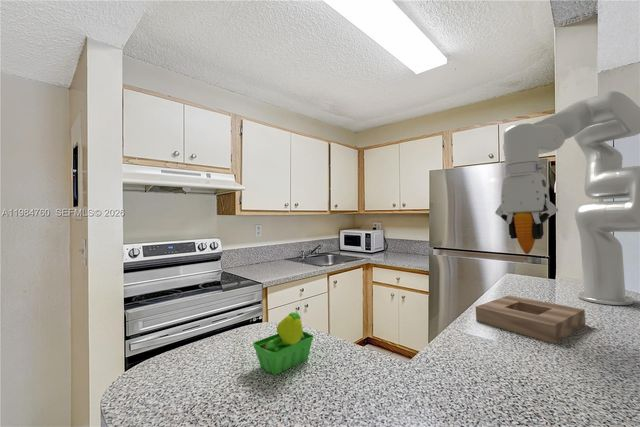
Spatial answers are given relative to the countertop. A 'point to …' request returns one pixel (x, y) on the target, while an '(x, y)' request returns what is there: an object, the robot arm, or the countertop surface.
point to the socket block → (532, 317)
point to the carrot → (524, 230)
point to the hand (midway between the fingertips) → (525, 237)
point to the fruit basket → (284, 346)
